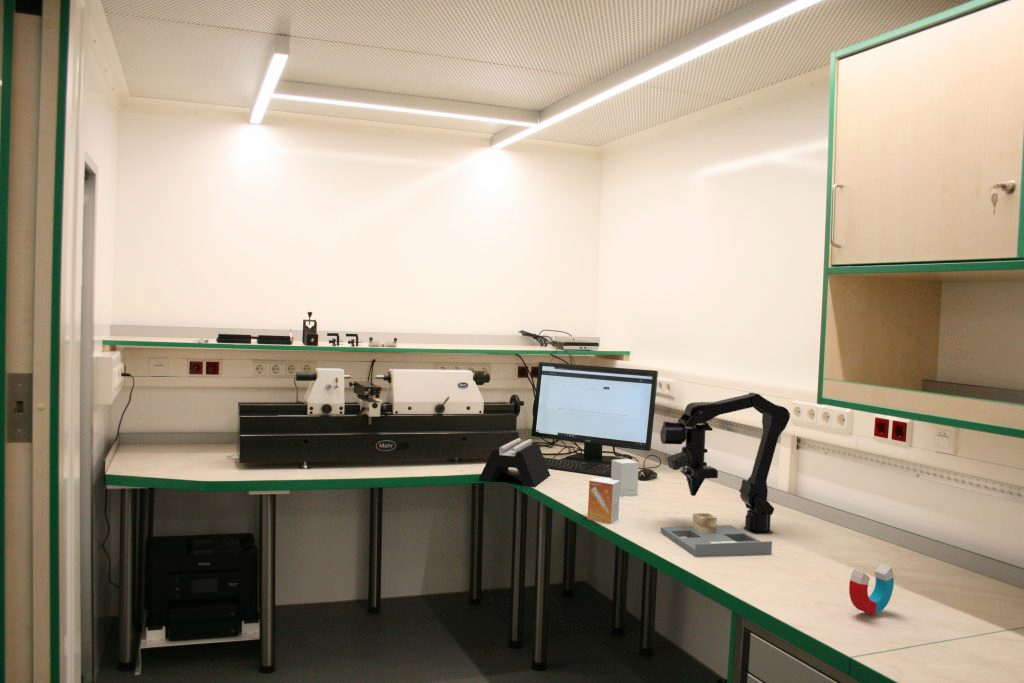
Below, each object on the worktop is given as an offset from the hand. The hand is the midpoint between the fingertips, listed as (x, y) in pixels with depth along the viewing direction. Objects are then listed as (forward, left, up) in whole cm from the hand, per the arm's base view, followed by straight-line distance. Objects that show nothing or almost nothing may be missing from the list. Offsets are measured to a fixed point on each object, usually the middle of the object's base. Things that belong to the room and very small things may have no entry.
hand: (693, 495), depth 231 cm
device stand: (+38, -70, -11) cm, 80 cm away
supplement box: (+4, -44, -11) cm, 45 cm away
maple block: (0, +8, -9) cm, 12 cm away
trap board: (0, +14, -11) cm, 18 cm away
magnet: (-10, +66, -11) cm, 68 cm away
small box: (+24, -12, -11) cm, 29 cm away
